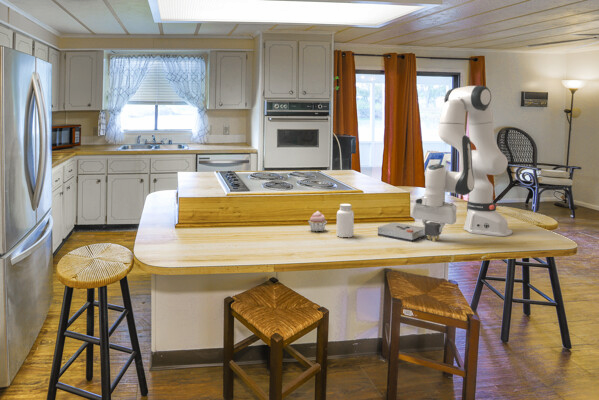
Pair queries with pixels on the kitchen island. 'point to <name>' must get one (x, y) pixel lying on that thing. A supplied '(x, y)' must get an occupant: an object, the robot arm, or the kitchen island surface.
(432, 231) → the plug
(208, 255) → the kitchen island surface
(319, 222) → the cupcake
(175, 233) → the kitchen island surface
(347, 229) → the pill bottle
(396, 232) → the socket
